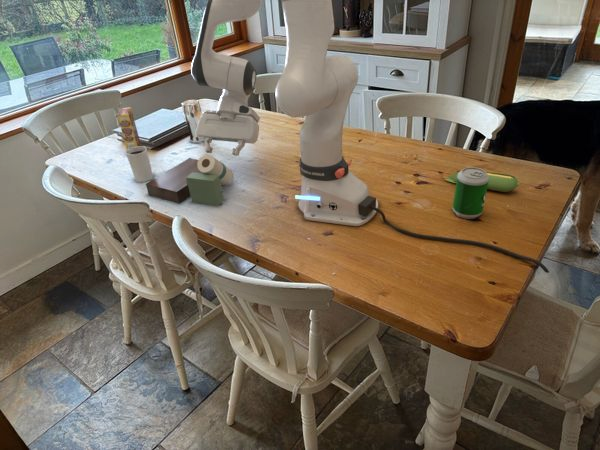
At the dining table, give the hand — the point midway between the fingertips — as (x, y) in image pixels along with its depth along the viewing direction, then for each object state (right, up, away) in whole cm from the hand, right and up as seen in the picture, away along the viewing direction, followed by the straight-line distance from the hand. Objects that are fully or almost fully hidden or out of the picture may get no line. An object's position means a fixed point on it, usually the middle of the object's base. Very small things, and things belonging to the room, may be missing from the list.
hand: (221, 153), depth 133 cm
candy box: (-39, +7, +33) cm, 52 cm away
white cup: (-28, -6, +12) cm, 31 cm away
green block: (-3, -15, -4) cm, 16 cm away
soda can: (+68, -19, -18) cm, 73 cm away
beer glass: (-16, +11, +38) cm, 43 cm away
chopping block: (-13, -9, +6) cm, 17 cm away
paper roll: (-1, -11, +2) cm, 11 cm away
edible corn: (+76, -11, -7) cm, 77 cm away
